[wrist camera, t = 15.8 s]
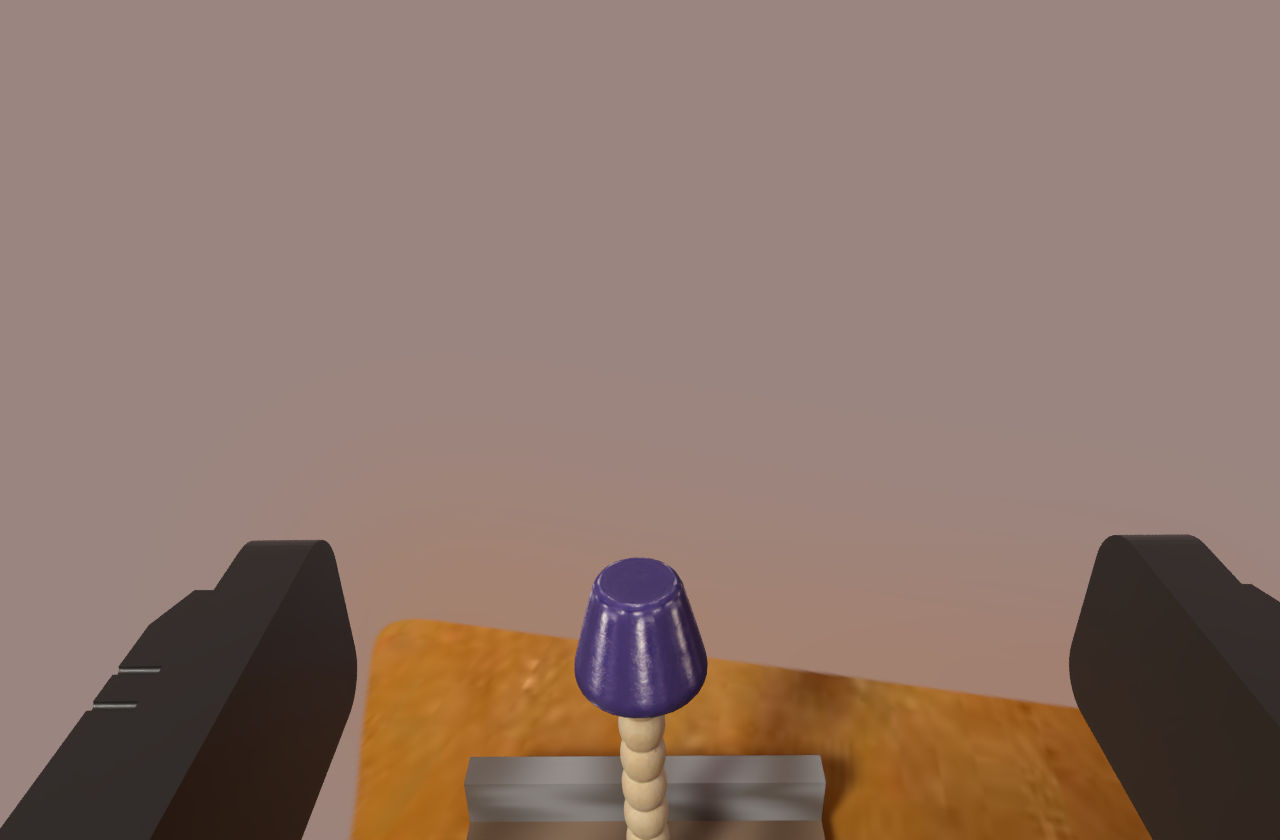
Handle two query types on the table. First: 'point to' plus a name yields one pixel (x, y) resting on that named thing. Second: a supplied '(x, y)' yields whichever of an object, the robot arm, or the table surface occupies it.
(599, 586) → the toy lamp
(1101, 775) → the table surface
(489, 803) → the track board
